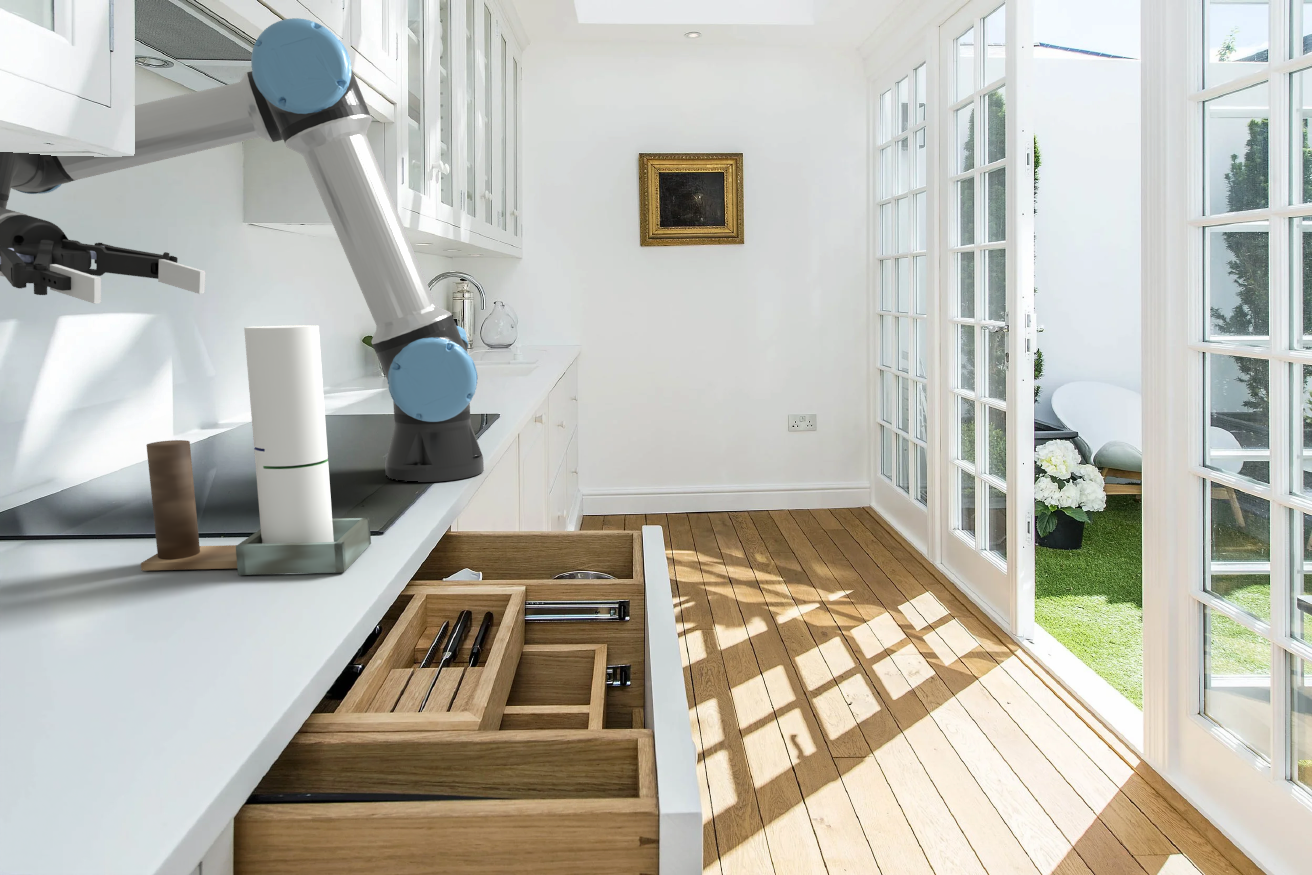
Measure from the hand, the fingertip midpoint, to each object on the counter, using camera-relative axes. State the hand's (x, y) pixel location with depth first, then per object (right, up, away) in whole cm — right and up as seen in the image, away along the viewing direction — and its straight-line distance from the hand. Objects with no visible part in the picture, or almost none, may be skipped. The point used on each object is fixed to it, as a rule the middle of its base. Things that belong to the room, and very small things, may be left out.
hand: (153, 286), depth 101 cm
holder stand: (+14, -30, -4) cm, 33 cm away
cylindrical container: (+18, -30, -4) cm, 36 cm away
